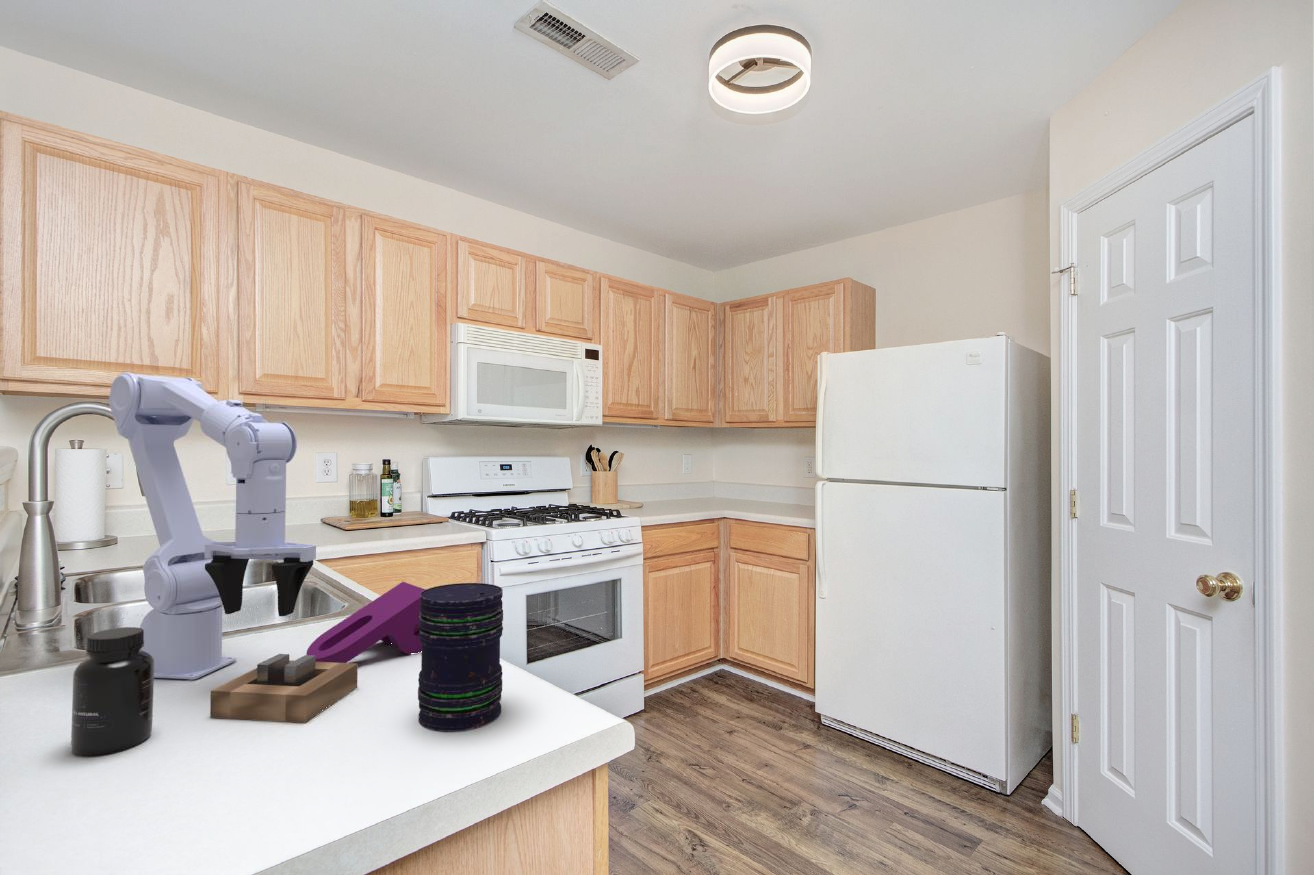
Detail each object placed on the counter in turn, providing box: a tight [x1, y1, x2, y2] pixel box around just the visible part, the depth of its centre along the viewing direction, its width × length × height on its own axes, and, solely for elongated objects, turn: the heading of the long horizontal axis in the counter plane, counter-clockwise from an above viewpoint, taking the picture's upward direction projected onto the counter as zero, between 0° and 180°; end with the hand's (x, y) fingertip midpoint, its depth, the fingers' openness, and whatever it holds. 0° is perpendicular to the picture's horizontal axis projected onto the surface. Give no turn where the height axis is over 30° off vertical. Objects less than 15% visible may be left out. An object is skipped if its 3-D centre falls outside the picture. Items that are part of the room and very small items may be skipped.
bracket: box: [256, 653, 316, 687], centre depth 82 cm, size 5×4×6 cm
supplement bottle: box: [70, 626, 155, 757], centre depth 71 cm, size 7×7×12 cm
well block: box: [209, 660, 359, 724], centre depth 82 cm, size 12×11×3 cm
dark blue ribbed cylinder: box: [417, 582, 504, 733], centre depth 79 cm, size 10×10×15 cm
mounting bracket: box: [305, 581, 427, 663], centre depth 101 cm, size 9×8×18 cm
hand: (259, 613), depth 87 cm, fingers open, 7 cm apart
